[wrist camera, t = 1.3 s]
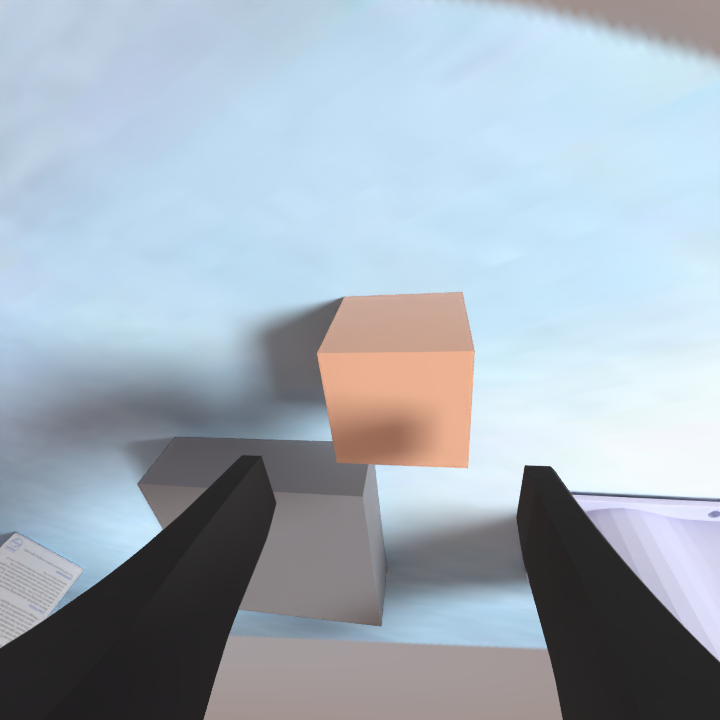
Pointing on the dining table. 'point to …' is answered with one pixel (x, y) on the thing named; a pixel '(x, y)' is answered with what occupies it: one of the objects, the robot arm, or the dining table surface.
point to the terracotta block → (399, 380)
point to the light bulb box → (30, 585)
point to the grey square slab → (292, 523)
